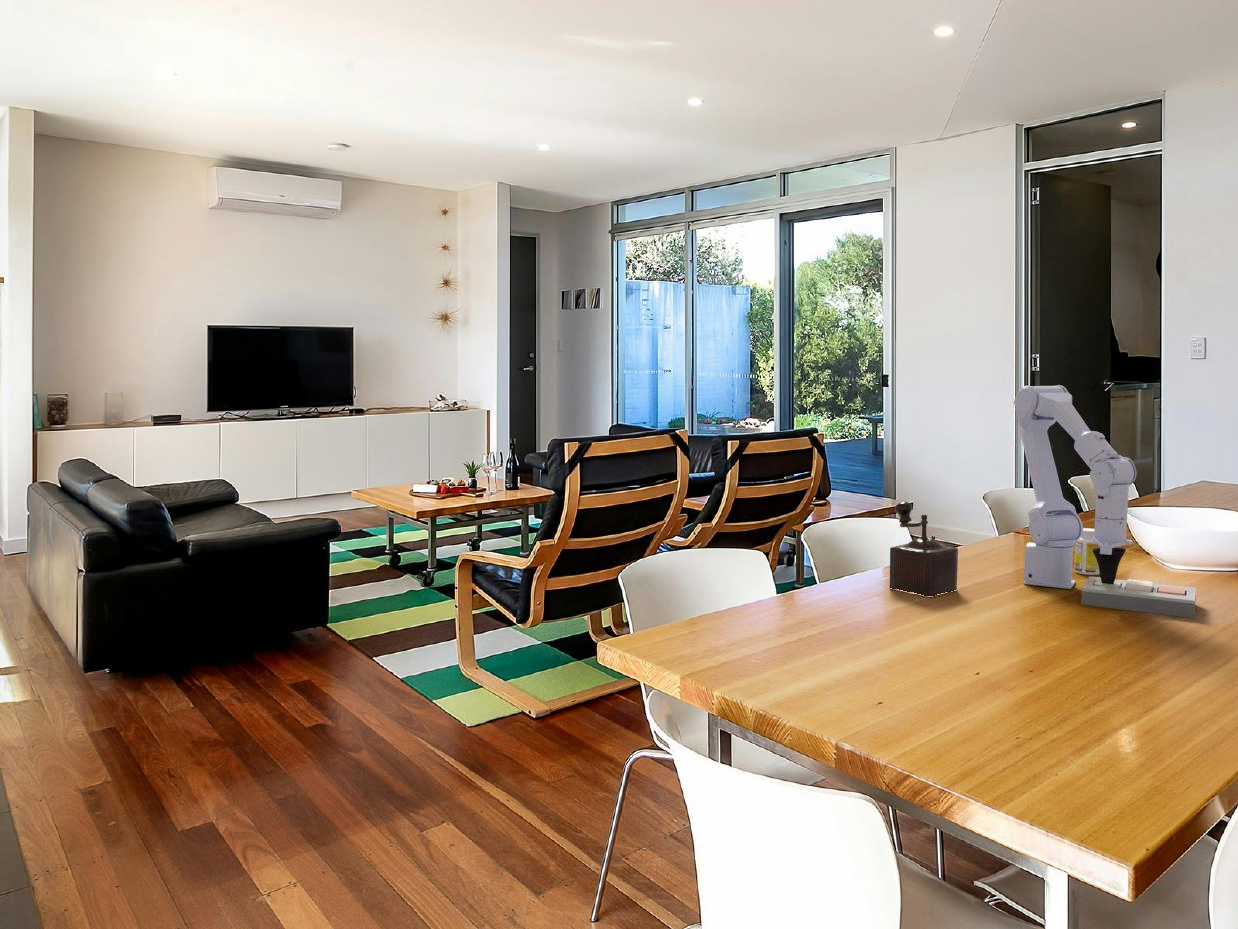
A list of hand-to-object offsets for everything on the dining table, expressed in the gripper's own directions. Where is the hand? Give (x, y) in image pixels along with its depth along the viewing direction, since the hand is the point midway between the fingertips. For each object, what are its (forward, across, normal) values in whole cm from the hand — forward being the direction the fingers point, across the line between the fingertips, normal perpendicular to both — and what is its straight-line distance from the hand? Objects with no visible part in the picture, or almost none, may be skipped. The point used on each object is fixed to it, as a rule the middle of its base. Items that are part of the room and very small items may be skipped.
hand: (1107, 583), depth 185 cm
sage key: (+2, 0, 0) cm, 2 cm away
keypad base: (+4, 0, -6) cm, 7 cm away
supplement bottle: (+4, +26, +6) cm, 27 cm away
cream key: (+1, 0, -6) cm, 6 cm away
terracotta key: (+2, 0, -11) cm, 11 cm away
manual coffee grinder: (+4, -9, +36) cm, 38 cm away
